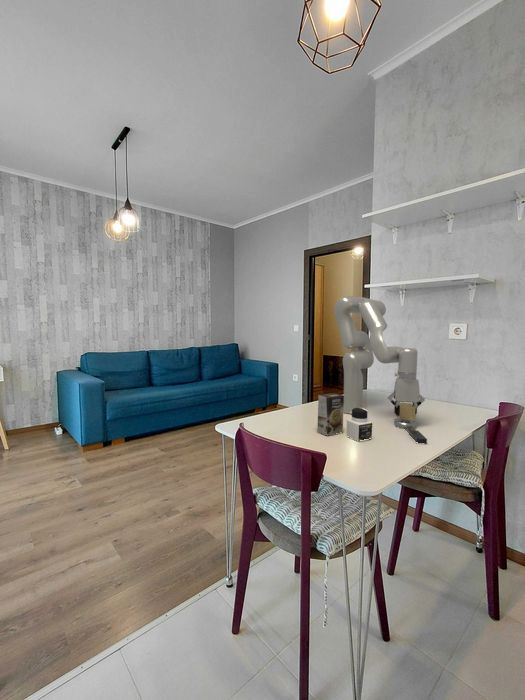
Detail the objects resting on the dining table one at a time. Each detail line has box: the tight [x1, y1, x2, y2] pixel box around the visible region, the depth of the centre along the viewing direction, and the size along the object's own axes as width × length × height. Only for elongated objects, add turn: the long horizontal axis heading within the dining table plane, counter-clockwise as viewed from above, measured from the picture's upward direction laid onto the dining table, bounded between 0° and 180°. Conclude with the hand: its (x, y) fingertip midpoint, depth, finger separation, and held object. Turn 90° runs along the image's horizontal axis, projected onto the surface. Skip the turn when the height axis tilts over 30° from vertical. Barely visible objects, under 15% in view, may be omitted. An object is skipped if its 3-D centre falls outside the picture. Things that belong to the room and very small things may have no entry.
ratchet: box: [393, 417, 428, 443], centre depth 141 cm, size 9×26×6 cm, turn 173°
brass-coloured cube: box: [395, 402, 416, 421], centre depth 149 cm, size 6×6×6 cm
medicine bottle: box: [345, 407, 373, 441], centre depth 133 cm, size 7×7×12 cm
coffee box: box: [317, 392, 344, 437], centre depth 139 cm, size 9×6×16 cm
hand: (405, 415), depth 149 cm, fingers closed on brass-coloured cube, 6 cm apart
